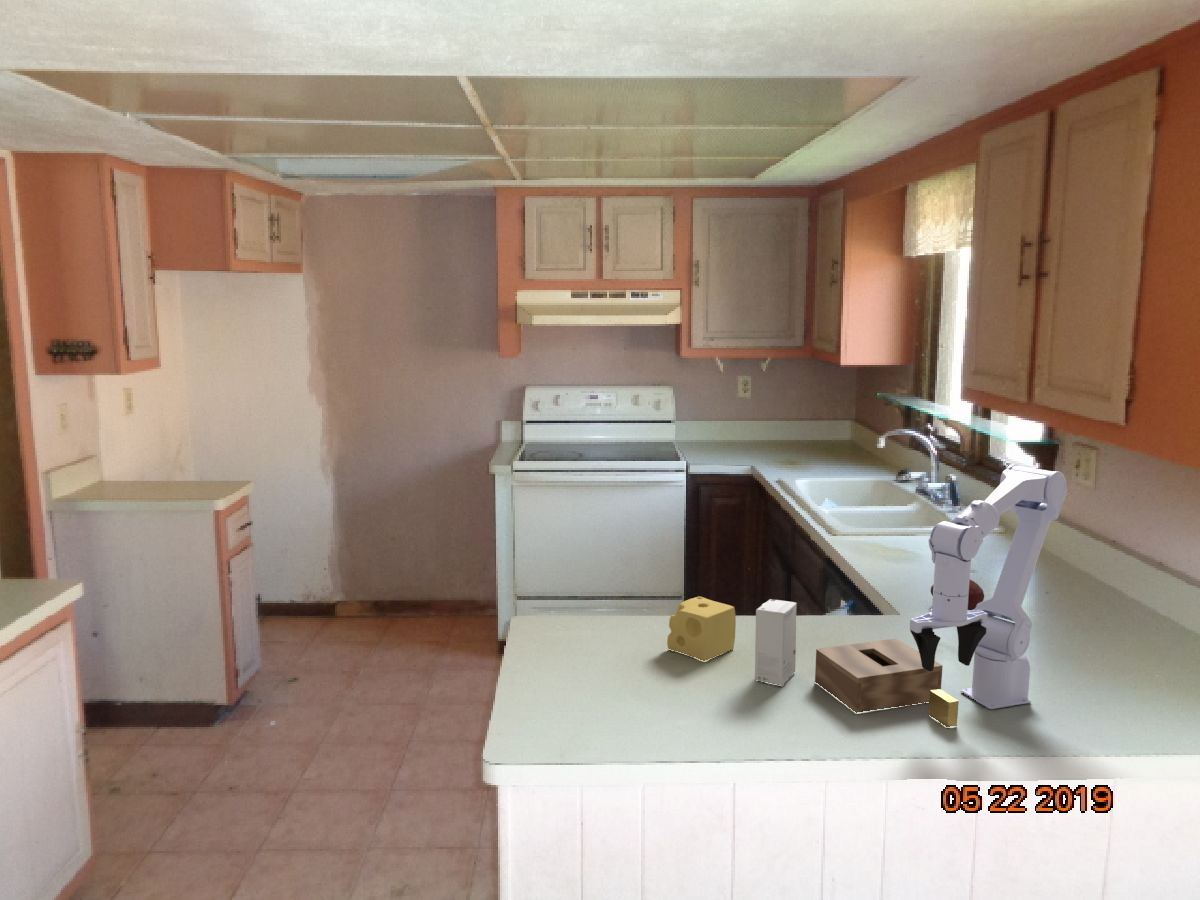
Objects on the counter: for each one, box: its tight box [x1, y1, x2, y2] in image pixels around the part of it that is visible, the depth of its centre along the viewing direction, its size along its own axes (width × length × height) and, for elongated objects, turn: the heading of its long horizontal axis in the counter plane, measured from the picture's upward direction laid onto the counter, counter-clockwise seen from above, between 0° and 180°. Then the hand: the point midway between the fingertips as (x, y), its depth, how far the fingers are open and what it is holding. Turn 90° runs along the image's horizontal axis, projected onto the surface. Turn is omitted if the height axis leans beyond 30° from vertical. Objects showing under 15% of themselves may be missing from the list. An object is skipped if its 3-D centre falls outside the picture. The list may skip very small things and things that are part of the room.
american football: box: [930, 579, 985, 610], centre depth 215 cm, size 12×11×8 cm
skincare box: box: [754, 598, 798, 687], centre depth 177 cm, size 8×6×15 cm
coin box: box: [814, 638, 943, 713], centre depth 171 cm, size 18×14×7 cm
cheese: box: [667, 595, 737, 661], centre depth 191 cm, size 10×11×10 cm
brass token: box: [928, 689, 960, 727], centre depth 159 cm, size 2×5×5 cm, turn 18°
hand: (945, 666), depth 158 cm, fingers open, 7 cm apart
